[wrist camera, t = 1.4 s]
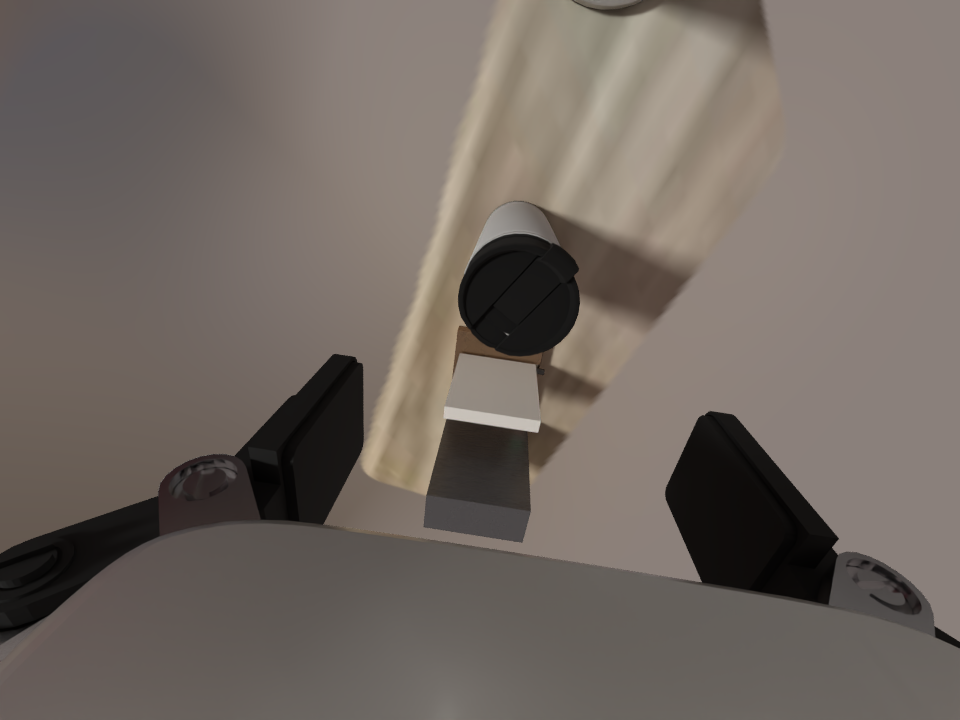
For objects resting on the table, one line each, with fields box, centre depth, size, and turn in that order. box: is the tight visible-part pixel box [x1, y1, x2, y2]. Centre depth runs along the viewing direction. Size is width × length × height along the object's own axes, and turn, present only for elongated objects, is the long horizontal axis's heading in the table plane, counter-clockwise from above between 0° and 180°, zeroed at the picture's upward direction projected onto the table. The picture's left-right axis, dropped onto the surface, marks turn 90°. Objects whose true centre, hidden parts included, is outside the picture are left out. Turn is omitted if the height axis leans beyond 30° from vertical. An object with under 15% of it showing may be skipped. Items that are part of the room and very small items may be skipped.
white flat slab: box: [444, 353, 545, 433], centre depth 38 cm, size 1×9×10 cm, turn 82°
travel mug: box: [458, 201, 580, 357], centre depth 29 cm, size 6×7×20 cm
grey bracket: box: [424, 326, 543, 542], centre depth 39 cm, size 14×9×14 cm, turn 173°
